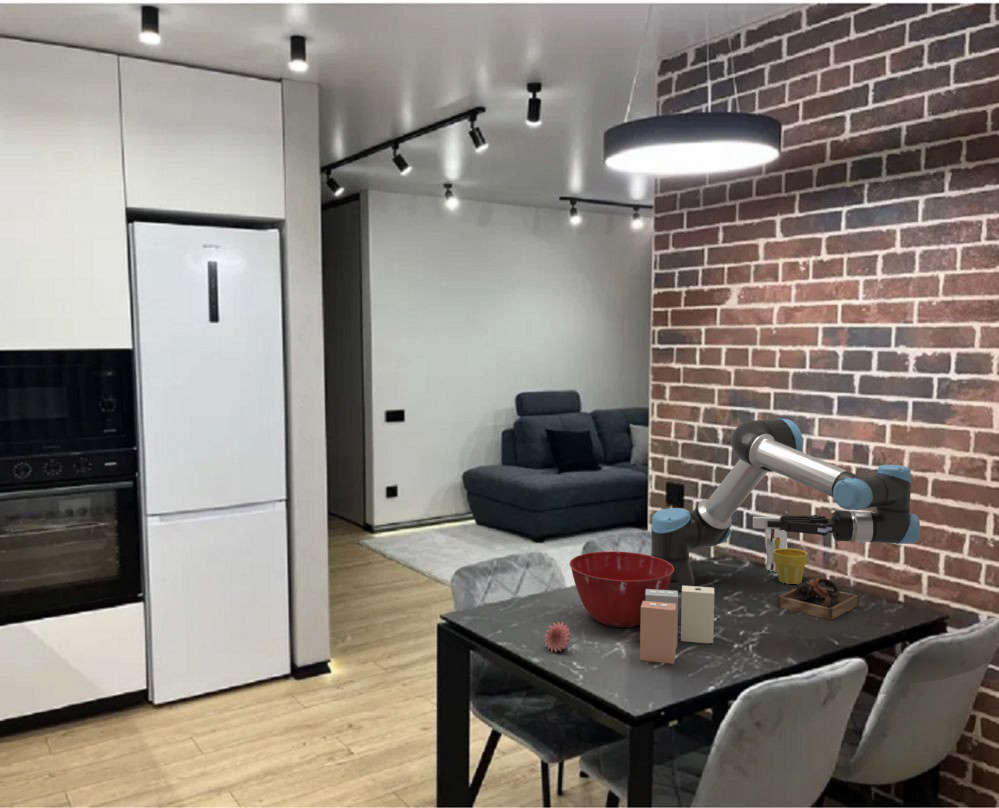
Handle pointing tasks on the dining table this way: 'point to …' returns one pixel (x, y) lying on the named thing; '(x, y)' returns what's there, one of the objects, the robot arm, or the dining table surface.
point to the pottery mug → (818, 590)
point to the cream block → (697, 614)
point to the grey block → (664, 600)
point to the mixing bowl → (618, 584)
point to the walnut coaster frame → (791, 603)
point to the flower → (557, 637)
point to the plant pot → (790, 564)
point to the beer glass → (774, 545)
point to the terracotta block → (658, 632)
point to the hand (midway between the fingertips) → (753, 522)
